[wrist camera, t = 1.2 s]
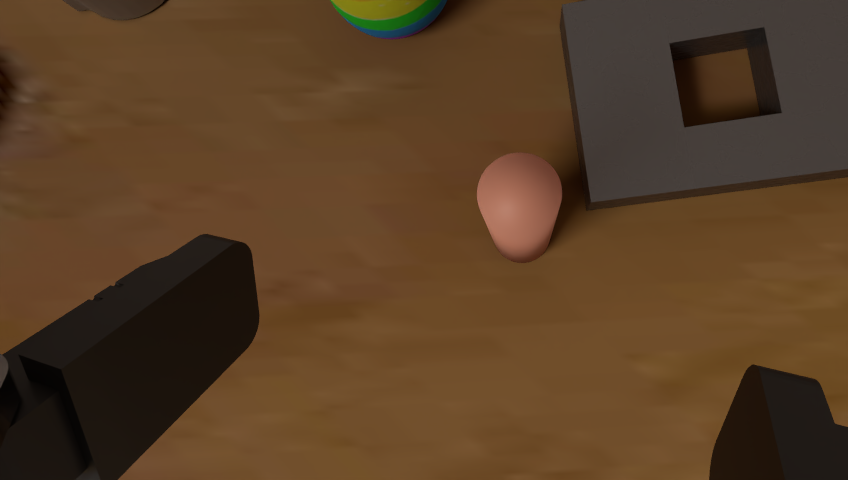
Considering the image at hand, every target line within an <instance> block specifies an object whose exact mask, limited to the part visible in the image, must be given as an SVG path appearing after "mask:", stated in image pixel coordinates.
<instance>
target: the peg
mask: <svg viewBox="0 0 848 480" xmlns="http://www.w3.org/2000/svg"><path fill="white" fill-rule="evenodd" d="M561 200H562V186H561V182H560V179H559V177H558V175H557V173H556V171H555V170H554V168H553V167H552V166H551V165H550V164H549V163H548V162H547V161H545V160H544V159H542V158H540V157H538V156H536V155H533V154H529V153H512V154H507V155H505V156H502V157H500V158H498V159H497V160H495V161H494V162H492V163H491V164H490V165H489V166H488V167H487V168H486V170H485V171H484V173H483V174H482V176H481V178H480V181H479V184H478V188H477V201H478V205H479V208H480V211H481V213H482V215H483V218H484V220H485V222H486V225H487V227H488V229H489V231H490V234H491V236H492V238H493V241H494V243H495V245H496V247H497V249H498V251H499V252H500V253H501V254H502V255H503V256H504V257H505V258H507V259H508V260H510V261H513V262H517V263H526V262H530V261H533V260H535V259H537V258H539V257H540V256H541V255H542V254H543V253H544V252H545V250H546V249H547V247H548V244H549V241H550V238H551V235H552V231H553V228H554V225H555V221H556V218H557V215H558V211H559V208H560V204H561Z"/></svg>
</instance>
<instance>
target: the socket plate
mask: <svg viewBox="0 0 848 480" xmlns="http://www.w3.org/2000/svg"><path fill="white" fill-rule="evenodd" d="M560 32H561V39H562V46H563V53H564V59H565V66H566V73H567V80H568V87H569V94H570V101H571V107H572V114H573V121H574V128H575V135H576V142H577V149H578V156H579V162H580V169H581V176H582V183H583V190H584V197H585V204H586V211H587V210H594V209H602V208H610V207H618V206H626V205H634V204H641V203H649V202H657V201H665V200H673V199H680V198H688V197H696V196H704V195H712V194H719V193H727V192H735V191H743V190H751V189H758V188H766V187H774V186H782V185H790V184H797V183H805V182H813V181H821V180H829V179H836V178H844V177H848V0H585V1H580V2H574V3H569V4H563V5H562V9H561V18H560ZM744 48H747V50H748V55H749V60H750V65H751V70H752V75H753V80H754V85H755V90H756V95H757V100H758V105H759V110H760V115H761V116H758V117H751V118H745V119H738V120H731V121H724V122H717V123H711V124H704V125H697V126H690V127H684V124H683V118H682V112H681V107H680V101H679V95H678V90H677V84H676V78H675V73H674V67H673V61H672V60H678V59H684V58H690V57H696V56H702V55H708V54H714V53H720V52H726V51H732V50H738V49H744Z"/></svg>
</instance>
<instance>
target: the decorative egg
mask: <svg viewBox="0 0 848 480" xmlns="http://www.w3.org/2000/svg"><path fill="white" fill-rule="evenodd" d="M330 1H331V2H332V4H333V5H334V7H335V8H336V10H337V11H338V12H339V13H340V14H341V15H342V16H343V18H344V19H345V20H346V21H348V22H349V23H350V24H351V25H353V26H354V27H355V28H357V29H358V30H360V31H362V32H364V33H366V34H368V35H371V36H374V37H378V38H383V39H400V38H405V37H408V36H411V35H414V34H416V33H418V32H420V31H422V30H423V29H425V28H426V27H427V26H428V25H430V24H431V23H432V22H433V21H434V20H435V19H436V18H437V16H438V15H439V14H440V12H441V11H442V9H443V8H444V6H445V4H446V2H447V0H330Z"/></svg>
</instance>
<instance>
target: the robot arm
mask: <svg viewBox="0 0 848 480" xmlns="http://www.w3.org/2000/svg"><path fill="white" fill-rule="evenodd" d="M63 1H64V2H66V3H67V4H69V5H70V6H71V7H73V8H74V9H76V10H77V11H83V10H91V11H94V12H95V13H97V14H99V15H101V16H103V17H106V18H109V19H113V20H128V19H133V18H137V17H140V16H142V15H145V14H147V13H149V12H151V11H152V10H154V9H155V8H157V7H158V6H160V5H161V4H162V3H163V2H164V1H165V0H63ZM258 325H259V308H258V300H257V291H256V283H255V275H254V267H253V259H252V253H251V250H250V248H249V247H248V246H247V245H246V244H245V243H243V242H239V241H234V240H230V239H226V238H222V237H217V236H213V235H209V234H203V235H200V236H198V237H196V238H194V239H193V240H191V241H190V242H188V243H187V244H185V245H184V246H182V247H181V248H179V249H178V250H176V251H175V252H173V253H172V254H170V255H169V256H166V257H164V258H161V259H158V260H155V261H153V262H150V263H147V264H145V265H142V266H140V267H138V268H137V269H135V270H134V271H132V272H131V273H129V274H128V275H126V276H124V277H123V278H121V279H120V280H118V281H117V282H116V284H115V286H109V287H107V288H106V289H104V290H103V291H101V292H100V293H98V294H96V295H95V296H94V299H93V300H87V301H86V302H84V303H82V304H81V305H79V306H78V307H76V308H75V309H73V310H72V311H70V312H68V313H67V314H65V315H64V316H62V317H61V318H59V319H57V320H56V321H54V322H53V323H51V324H50V325H48V326H47V327H45V328H43V329H42V330H40V331H39V332H37V333H36V334H34V335H33V336H31V337H29V338H28V339H26V340H25V341H23V342H22V343H20V344H19V345H17V346H15V347H14V348H12V349H11V350H9V351H8V352H6V353H4V354H3V355H1V354H0V480H118V479H119V478H120V477H121V476H122V475H123V474H124V473H125V472H126V471H127V470H128V468H129V467H130V466H131V465H132V464H133V463H134V462H135V461H136V460H137V459H138V458H139V457H140V456H141V455H142V454H143V453H144V452H145V451H146V450H147V449H148V448H149V447H150V446H151V445H152V444H153V443H154V442H155V441H156V440H157V439H158V438H159V437H160V436H161V435H162V434H163V433H164V432H165V431H166V430H167V429H168V428H169V427H170V426H171V425H172V424H173V423H174V422H175V421H176V420H177V419H178V418H179V417H180V416H181V415H182V414H183V413H184V412H185V411H186V410H187V409H188V408H189V407H190V406H191V405H192V404H193V403H194V402H195V401H196V400H197V399H198V398H199V397H200V396H201V395H202V394H203V393H204V392H205V391H206V390H207V389H208V388H209V387H210V386H211V385H212V384H213V383H214V382H215V381H216V380H217V379H218V378H219V377H220V375H221V374H222V373H223V372H224V371H225V370H226V369H227V368H228V367H229V366H230V365H231V364H232V363H233V362H234V361H235V360H236V359H237V358H238V357H239V356H240V355H241V354H242V353H243V352H244V351H245V350H246V349H247V348H248V347H249V345H250V344H251V343H252V341H253V339H254V337H255V335H256V332H257V329H258ZM709 480H848V427H845V426H841V425H837V424H835V423H834V420H833V417H832V415H831V412H830V409H829V406H828V404H827V401H826V398H825V395H824V393H823V390H822V387H821V385H820V384H819V382H818V381H817V380H815V379H812V378H808V377H804V376H799V375H795V374H791V373H787V372H783V371H778V370H774V369H770V368H766V367H761V366H757V365H751V366H750V367H749V368H748V369H747V370H746V372H745V374H744V376H743V378H742V380H741V383H740V385H739V388H738V390H737V392H736V395H735V397H734V399H733V402H732V404H731V407H730V409H729V411H728V414H727V416H726V419H725V421H724V423H723V426H722V428H721V431H720V433H719V435H718V438H717V440H716V443H715V446H714V449H713V454H712V459H711V465H710V476H709Z"/></svg>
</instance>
